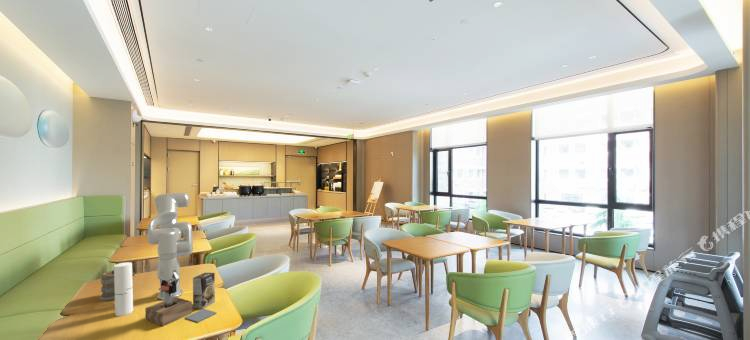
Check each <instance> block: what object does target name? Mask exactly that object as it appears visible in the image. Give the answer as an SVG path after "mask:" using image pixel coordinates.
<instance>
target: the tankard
mask: <svg viewBox="0 0 750 340" xmlns="http://www.w3.org/2000/svg"><path fill="white" fill-rule="evenodd" d="M135 274H136V273H135V272H134V271H132V277H134V276H135ZM101 276H102V277H101V280H100V284H101V285H102V287H101V288H100V292H101V293H102V294H101V295H100V296H99V300H100V301H104V302H106V301H107V302H109V301H113V300H114V301H115V285H114V269H113V270H109V271H105V272H104V273H103V274H102V275H101Z"/></svg>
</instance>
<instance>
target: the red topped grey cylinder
mask: <svg viewBox="0 0 750 340" xmlns="http://www.w3.org/2000/svg"><path fill="white" fill-rule="evenodd" d="M169 286H170V283H166V284H163V285H162V286H161V291H164V299H165V300H164V301H165V308H168V307H171V306H173V293H172V294H169Z"/></svg>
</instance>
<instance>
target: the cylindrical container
mask: <svg viewBox="0 0 750 340" xmlns="http://www.w3.org/2000/svg"><path fill="white" fill-rule="evenodd" d="M113 270H114V285H115V299H114V313H115V316H116V317H123V316H126V314H127V315H130V314H131V313H133V312H134V293H133V289H134V288H133V276H132V272H133V263H132V262H130V261H128V262H121V263H116V264H114V265H113ZM132 311H133V312H132Z"/></svg>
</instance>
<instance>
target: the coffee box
mask: <svg viewBox="0 0 750 340" xmlns="http://www.w3.org/2000/svg"><path fill="white" fill-rule="evenodd" d="M215 275H216V273H215V272H203V273H201V274H199V275H197V276H194V277H192V309H200V310H202V309H206V308H207V307H209V306H210V305H212V304H213V303H215V302H216V286H215V283H216V282H215V279H216V276H215Z"/></svg>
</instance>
